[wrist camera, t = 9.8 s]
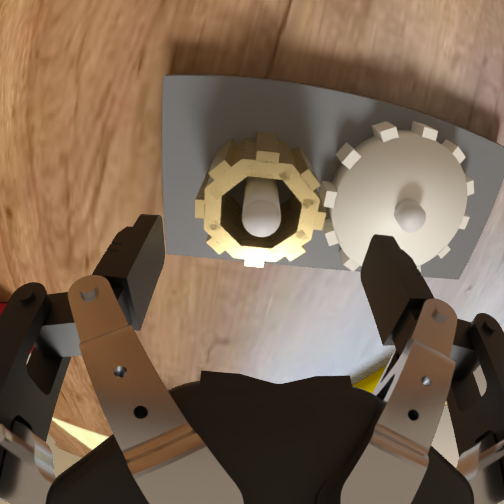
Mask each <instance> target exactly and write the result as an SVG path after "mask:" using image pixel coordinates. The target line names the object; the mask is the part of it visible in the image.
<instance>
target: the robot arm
mask: <svg viewBox="0 0 504 504" xmlns="http://www.w3.org/2000/svg"><path fill="white" fill-rule="evenodd" d="M164 259H165V246H164V236H163V224H162V218H161V216H160V215H147V214H141V215H140V216H139V218H138V219H137V221H136V222H135V224H134V226H133V227H126V228H124V229H123V230H122V231H120V232H119V233H118V234H117V235H116V236H115V238H114V239H113V241H112V244H110V246H109V247H108V249H107V251H106V252H105V254H104V255H103V257H102V259H101V260H100V262H99V264H98V265H97V267H96V269H95V270H94V272H93V274H92V275H90V276H85V277H83V278H80V279H79V280H77V281H76V282H74V283H73V284H72V286H71V287H70V289H69V291H68V292H64V293H57V294H49V295H48V294H47V292H46V289H45V287H44V286H43V285H42V284H40V283H36V282H32V283H27V284H25V285H23V286H21V287H20V288H18V289H17V290H16V291H15V292H14V293H13V295H12V296H11V298H10V300H9V301H8V303H7V305H6V306H5V308H4V310H3V312H2V313H1V315H0V500H2V501H5V502H9V503H11V504H503V503H504V332H503V330H502V328H501V327H500V325H499V323H498V322H497V321H496V320H495V319H494V318H493V317H491V316H490V315H488V314H485V313H479V314H477V315H476V317H475V318H474V319H473V321H472V322H467V321H464V320H460V319H457V315H456V313H455V311H454V310H453V309H452V307H451V306H449V305H448V304H447V303H445V302H444V301H442V300H439V299H435V298H434V297H433V295H432V293H431V291H430V289H429V287H428V285H427V284H426V282H425V280H424V278H423V276H421V273H420V271H419V269H417V266H416V264H415V263H414V261H413V259H412V258H411V257H410V256H409V255H408V254H407V253H406V252H405V251H404V250H401V248H400V247H399V245H398V243H397V242H396V240H395V238H394V237H393V236H387V235H379V234H375V235H373V237H372V238H371V241H370V244H369V247H368V250H367V253H366V256H365V258H364V261H363V264H362V267H361V282H362V284H363V287H364V290H365V293H366V296H367V298H368V301H369V304H370V307H371V310H372V313H373V316H374V319H375V322H376V325H377V328H378V331H379V334H380V337H381V341H382V344H383V345H395V347H396V350H395V351H394V353H393V354H392V356H391V358H390V360H389V362H388V364H387V366H386V368H385V370H384V372H383V374H382V376H381V378H380V380H379V382H378V384H377V386H376V388H375V390H374V391H373V393H370V392H368V391H366V390H363V389H361V388H357V387H354V386H352V384H351V379H350V376H315V377H311V378H307V379H302V380H298V381H293V382H289V383H284V384H275V383H271V382H267V381H263V380H259V379H256V378H252V377H249V376H245V375H242V374H235V373H222V372H211V371H201V378H200V381H196V382H191V383H186V384H183V385H180V386H177V387H175V388H173V389H171V390H167V389H166V387H165V385H164V384H163V382H162V380H161V379H160V377H159V375H158V373H157V372H156V370H155V368H154V366H153V365H152V363H151V361H150V359H149V357H148V356H147V354H146V352H145V350H144V348H143V346H142V344H141V342H140V341H139V339H138V337H137V335H136V333H135V331H134V330H138V331H140V330H141V327H142V324H143V321H144V318H145V315H146V312H147V309H148V306H149V303H150V300H151V298H152V295H153V292H154V289H155V286H156V284H157V281H158V278H159V276H160V273H161V270H162V268H163V264H164ZM33 345H34V349H33V351H32V353H31V356H30V358H29V360H28V357H29V355H30V352H31V350H32V348H33ZM79 355H82V357H83V360H84V363H85V366H86V369H87V371H88V374H89V377H90V380H91V382H92V385H93V388H94V390H95V393H96V395H97V398H98V400H99V403H100V405H101V407H102V410H103V412H104V414H105V417H106V419H107V421H108V423H109V426H110V428H111V430H112V432H113V434H112V435H111V436H110V437H109V438H107V439H106V440H105V441H104V442H102V443H101V444H100V445H98V446H97V447H96V448H95V449H93V450H92V451H91V452H89V453H88V454H87V455H85V456H84V457H83V458H82V459H80V460H79V461H78V462H76V463H75V464H74V465H72V466H71V467H70V468H68V469H67V470H65V471H64V472H63V473H61V474H60V475H59V476H58V477H57V478H56V477H55V475H54V472H53V469H54V464H53V455H52V451H51V449H50V447H49V446H48V444H47V443H46V439H47V435H48V431H49V427H50V424H51V420H52V416H53V413H54V409H55V406H56V402H57V399H58V396H59V392H60V389H61V386H62V383H63V380H64V377H65V374H66V371H67V368H68V365H69V362H70V359H71V356H79ZM27 360H28V363H27ZM26 364H27V365H26ZM479 365H481V368H482V370H483V373H484V376H485V378H486V382H487V388H486V392H485V394H484V395H483V396H482V397H481V395H480V392H479V389H478V386H477V383H476V380H475V377H474V375H473V372H474V371H475V370H476V369H477V368H478V366H479ZM446 401H447V405H448V408H449V412H450V416H451V420H452V425H453V429H454V434H455V438H456V443H457V448H458V453H459V460H458V465H457V467H456V468H455V467H454V466H453V465H452V464H450V463H449V462H448V461H447V460H446V459H445V458H444V457H443V456H442V455H441V454H439V453H438V452H437V451H436V450H435V449H434V448H433V447H432V446H431V443H432V441H433V438H434V435H435V433H436V430H437V427H438V424H439V421H440V418H441V415H442V412H443V409H444V406H445V402H446Z"/></svg>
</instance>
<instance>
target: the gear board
mask: <svg viewBox="0 0 504 504" xmlns="http://www.w3.org/2000/svg"><path fill="white" fill-rule="evenodd" d="M258 131H263V132H272V133H276V137H277V141H283V142H286V143H287V144H288V146H289V147H290V148H291V149H292V150H293V149H294V148H296V147H297V146H299V147H300V148H301V149H302V151H303V152H304V153H305V155H306V156H307V157H308V159H309V161H310V163H311V165H312V167H313V169H314V171H315V174H316V176H317V178H318V180H319V183H320V185H321V186H319V187H318V188H317V190H318V193H319V195H320V198H321V200H322V203H323V205H324V208H325V210H326V217H325V221H324V225H323V229H322V230H314V229H313V233H312V238H311V240H310V241H308V242H307V243H305V244H304V245H305V250H306V252H305V253H303V254H301V255H300V256H298V257H297V258H295V259H293V260H292V261H289V260H288V258H287V257H286V256H284V257H283V258H281V259H280V260H278V261H275V262H272V261H264V263H268V264H279V265H290V266H301V267H312V268H324V269H335V270H347V271H359V272H361V267H362V264H363V261H364V258H365V256H366V253H367V250H368V247H369V244H370V241H371V238H372V237H373V235H375V234H379V235H387V236H393V237H394V238H395V240H396V242H397V243H398V245H399V247H400V248H401V250H404V251H405V252H406V253H407V254H408V255H409V256H410V257H411V258H412V259H413V261H414V263H415V264H416V266H417V269H419V271H420V273H421V276H423V277H433V278H446V279H459V278H460V276H461V274H462V272H463V270H464V268H465V266H466V265H467V263H468V261H469V259H470V257H471V255H472V253H473V251H474V249H475V247H476V244H477V242H478V240H479V238H480V236H481V234H482V231H483V229H484V227H485V225H486V222H487V220H488V218H489V215H490V213H491V210H492V208H493V206H494V203H495V200H496V198H497V195H498V193H499V190H500V187H501V184H502V181H503V179H504V146H502V145H500V144H498V143H496V142H494V141H492V140H490V139H488V138H486V137H483V136H481V135H479V134H477V133H474V132H472V131H470V130H467V129H465V128H462V127H460V126H457V125H455V124H452V123H450V122H447V121H444V120H442V119H439V118H436V117H433V116H431V115H428V114H425V113H422V112H419V111H416V110H413V109H410V108H406V107H403V106H400V105H396V104H393V103H389V102H386V101H382V100H378V99H375V98H371V97H367V96H363V95H358V94H354V93H350V92H345V91H341V90H336V89H331V88H325V87H320V86H314V85H309V84H302V83H296V82H289V81H282V80H274V79H265V78H255V77H243V76H229V75H208V74H171V75H165V76H163V98H162V180H163V206H164V225H165V240H166V254H174V255H184V256H194V257H204V258H215V259H225V260H236V261H245V259H240V258H234V257H232V256H231V255H230V254H229V253H228V252H227V251H226V250H225V251H224V252H222V253H221V254H218V253H217V252H216V251H215V250H214V249H213V248H212V247H210V246H209V245H208V244H207V243H206V240H207V236H208V233H207V232H206V231H205V230H204V219H203V218H195V199H196V196H197V194H198V192H199V189H200V187H201V185H202V183H203V180H204V178H205V176H206V174H207V171H208V170H210V168H211V165H212V163H213V161H214V159H215V156H216V154H217V152H218V150H219V148H221V147H222V146H223V145H224V144H226V143H227V142H228V141H229V140H231V139H233V140H234V141H235V142H236V143H237V144H238V143H239V142H241V141H242V140H243V139H244V138H257V132H258ZM228 193H229V194H230V195H231V196H232V197H233V198H234V199H235V200H236V201H237V202H238V203H239V204H240V205H241V207H242V208H243V212H242V222H243V225H244V227H245V229H246V230H247V231H248V232H249V233H250V234H252V235H254V236H257V237H267V236H269V235H271V234H273V233H274V232H275V231H276V230H277V229H278V227H279V225H280V222H281V212H280V205H281V204H282V203H284V202H285V201H287V200H288V199H290V196H291V190H290V189H289V187H288V186H287V185H286V184H285V182H284V181H283V180H279V179H270V178H260V177H251V176H247V177H246V178H245V179H243V180H242V181H241V182H239V183H238V184H237V185H235V186H234V187H233V188H231V189H230V190H229V191H228Z"/></svg>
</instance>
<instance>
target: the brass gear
mask: <svg viewBox="0 0 504 504" xmlns="http://www.w3.org/2000/svg"><path fill="white" fill-rule="evenodd" d="M247 176H251V177H260V178H270V179H279V180H283V181H284V182H285V184H286V185H287V186H288V187H289V189H290V190H291V196H290V199H288V200H287V201H285V202H284V203H282V204H281V205H280V212H281V222H280V225H279V227H278V229H277V230H276V231H275V232H274V233H273V234H271V235H269V236H267V237H257V236H254V235H252V234H250V233H249V232H248V231H247V230H246V229H245V227H244V225H243V222H242V212H243V208H242V207H241V205H240V204H239V203H238V202H237V201H236V200H235V199H234V198H233V197H232V196H231V195H230V194H229V193H228V191H229V190H230V189H231V188H233V187H234V186H235V185H237V184H238V183H239V182H241V181H242V180H243V179H245V178H246V177H247ZM319 186H321V185H320V183H319V180H318V178H317V176H316V174H315V171H314V169H313V167H312V165H311V163H310V161H309V159H308V157H307V156H306V155H305V153H304V152H303V151H302V149H301V148H300V147H299V146H297V147H296V148H294V149H293V150H292V149H291V148H290V147H289V146H288V144H287V143H286V142H283V141H277V137H276V133H272V132H263V131H258V132H257V138H244V139H243V140H242V141H241V142H239V143H238V144H237V143H236V142H235V141H234V140H233V139H231V140H229V141H228V142H227V143H226V144H224V145H223V146H222V147H221V148H219V150H218V152H217V154H216V156H215V159H214V161H213V163H212V165H211V168H210V170H208V171H207V174H206V176H205V178H204V180H203V183H202V185H201V187H200V189H199V192H198V194H197V196H196V199H195V218H203V219H204V230H205V231H206V232H207V233H208V236H207V240H206V243H207V244H208V245H209V246H210V247H212V248H213V249H214V250H215V251H216V252H217V253H218V254H221V253H222V252H224V251H225V250H226V251H227V252H228V253H229V254H230V255H231V256H232V257H234V258H240V259H245V265H244V266H253V267H263V265H264V261H272V262H275V261H278V260H280V259H281V258H283V257H284V256H286V257H287V258H288V260H289V261H292V260H293V259H295V258H297V257H298V256H300V255H301V254H303V253H305V252H306V250H305V245H304V244H305V243H307V242H308V241H310V240H311V238H312V233H313V229H314V230H322V229H323V225H324V221H325V217H326V210H325V208H324V205H323V203H322V200H321V198H320V195H319V193H318V190H317V188H318V187H319Z"/></svg>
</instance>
